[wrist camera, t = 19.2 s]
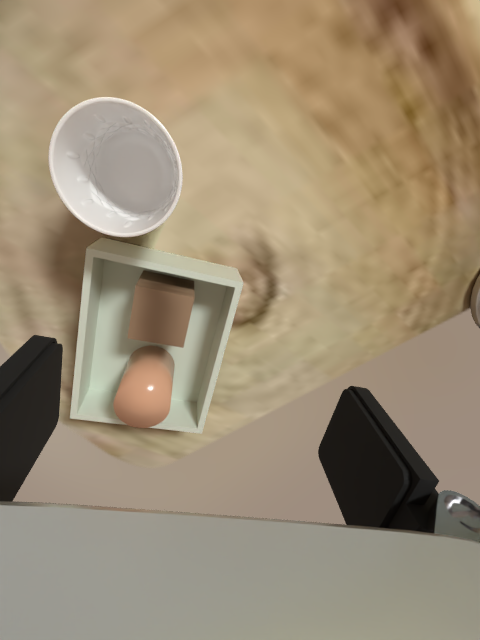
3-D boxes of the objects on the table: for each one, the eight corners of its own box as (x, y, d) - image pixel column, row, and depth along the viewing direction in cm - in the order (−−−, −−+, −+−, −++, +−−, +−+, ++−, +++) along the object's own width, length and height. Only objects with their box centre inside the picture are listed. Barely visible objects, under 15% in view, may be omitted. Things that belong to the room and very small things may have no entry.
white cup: (192, 211, 32) (193, 227, 23) (108, 225, 31) (74, 246, 22) (174, 115, 28) (166, 87, 19) (80, 128, 28) (26, 106, 19)
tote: (236, 268, 34) (243, 282, 30) (200, 404, 40) (201, 433, 36) (101, 237, 31) (86, 247, 27) (84, 388, 38) (69, 418, 33)
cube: (194, 281, 34) (194, 297, 29) (184, 325, 35) (183, 347, 31) (143, 270, 33) (135, 285, 28) (135, 316, 34) (127, 338, 30)
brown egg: (171, 387, 38) (166, 430, 32) (126, 382, 37) (111, 425, 31) (177, 348, 36) (173, 386, 30) (130, 342, 35) (115, 379, 29)
